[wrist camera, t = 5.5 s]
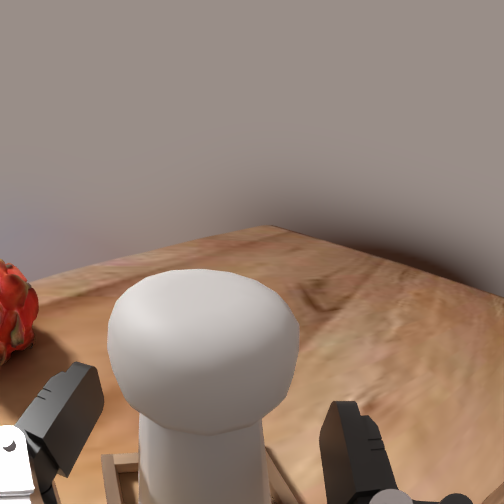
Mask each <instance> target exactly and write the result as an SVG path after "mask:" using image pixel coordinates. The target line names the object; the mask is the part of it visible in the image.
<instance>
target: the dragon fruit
mask: <svg viewBox="0 0 504 504" xmlns="http://www.w3.org/2000/svg"><path fill="white" fill-rule="evenodd" d="M26 282H27V279H26V278H25V277H24V276H23V274H22V273H21V272H20V271H19V269H18V268H17V267H15V266H14V265H13V264H11V263H8V264H5V262H4V261H3V260H2V259H0V366H1V365H2V364H3V363H6V362H7V361H8V360H9V359H10V356H11V352H12V351H15V350H24V349H26V348H27V347H28V346H30V345H31V344H32V346H31V348H32V347H33V346H34V344H35V335H34V333H33V330H32V327H31V326H32V324H33V321H34V320H35V319H36V317H37V314H38V311H39V305H38V297H37V294H36V292H35V290H34V289H33V288H31V285H30V284H29V283H26ZM29 349H30V348H29Z"/></svg>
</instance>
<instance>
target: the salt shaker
mask: <svg viewBox="0 0 504 504" xmlns="http://www.w3.org/2000/svg"><path fill="white" fill-rule="evenodd" d="M107 349H108V353H109V357H110V361H111V365H112V369H113V372H114V375H115V377H116V379H117V382H118V384H119V386H120V388H121V391H122V393H123V395H124V397H125V399H126V400H127V402H128V403H129V404H130V406H131V407H132V408H134V409H135V410H137V411H138V412H140V417H139V457H138V472H139V504H272V503H271V495H270V487H269V479H268V470H267V462H266V453H265V445H264V436H263V428H262V418H263V417H264V416H265V415H267V414H268V413H269V412H271V411H272V410H273V409H274V408H276V407H277V406H278V405H279V404H280V403H281V402H282V401H283V400H284V398H285V397H286V395H287V392H288V390H289V387H290V384H291V381H292V378H293V375H294V371H295V366H296V362H297V357H298V352H299V324H298V322H297V320H296V318H295V317H294V315H293V313H292V311H291V310H290V308H289V306H288V305H287V304H286V302H285V301H284V300H283V299H282V298H281V297H280V296H279V295H278V294H277V293H276V292H274V291H273V290H271V289H269V288H268V287H266V286H264V285H263V284H261V283H260V282H258V281H256V280H253V279H250V278H247V277H243V276H240V275H237V274H234V273H231V272H223V271H214V270H205V269H190V270H171V271H168V272H164V273H160V274H157V275H153V276H149V277H146V278H145V279H143V280H141V281H140V282H138V283H137V284H135V285H134V286H132V287H131V288H129V289H128V290H127V291H126V292H125V293H124V294H123V295H122V296H121V297H120V298H119V299H118V300H117V301H116V304H115V306H114V309H113V311H112V314H111V317H110V320H109V323H108V343H107Z"/></svg>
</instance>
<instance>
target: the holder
mask: <svg viewBox="0 0 504 504" xmlns="http://www.w3.org/2000/svg"><path fill="white" fill-rule="evenodd" d="M265 453H266V462H267V470H268V479H269V487H270V495H271V496H272V498H273V500H274V501H275V503H276V504H299V503H298V501H297V500H296V498H295V497H294V495H293V494H292V492H291V491H290V489H289V487H288V486H287V484H286V483H285V481H284V479H283V478H282V476H281V475H280V473H279V471H278V470H277V468H276V466H275V465H274V463H273V461H272V460H271V458H270V456H269V455H268V453H267V451H266V450H265ZM138 457H139V453H125V454H105V455H101V462H102V470H103V478H104V486H105V492H106V499H107V504H124V502H123V497H122V492H121V487H120V481H119V475H118V473H124V472H138Z"/></svg>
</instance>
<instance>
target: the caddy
mask: <svg viewBox="0 0 504 504" xmlns="http://www.w3.org/2000/svg"><path fill="white" fill-rule="evenodd" d="M482 504H504V482H503V483H502V484H501V485H500V486H499V487H498V488H497V489H496V490H495V491H494V492H493V493H491V494H490V495H489V496H488V497H487V498H486V499H485V500H484V501H483V503H482Z"/></svg>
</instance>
